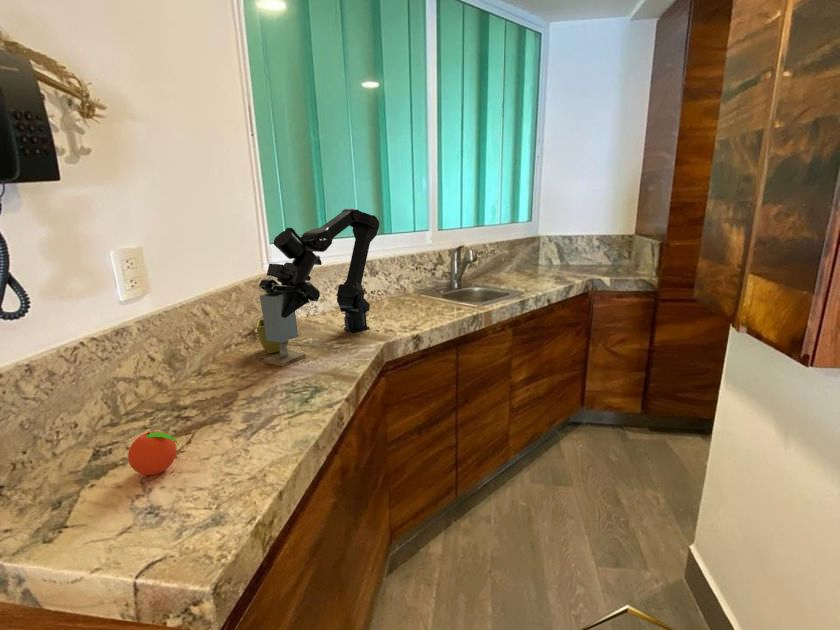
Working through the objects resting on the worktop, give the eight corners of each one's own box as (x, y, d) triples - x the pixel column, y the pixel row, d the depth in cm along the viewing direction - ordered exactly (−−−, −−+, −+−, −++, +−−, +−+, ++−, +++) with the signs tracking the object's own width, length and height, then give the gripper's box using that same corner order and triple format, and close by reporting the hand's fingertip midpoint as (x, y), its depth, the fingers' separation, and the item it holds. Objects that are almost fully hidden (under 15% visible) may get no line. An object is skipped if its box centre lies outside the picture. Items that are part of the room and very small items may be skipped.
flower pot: (260, 356, 128) (255, 326, 126) (262, 347, 136) (258, 319, 134) (291, 352, 130) (288, 323, 128) (292, 344, 139) (288, 316, 136)
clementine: (194, 457, 78) (186, 421, 76) (174, 482, 71) (165, 442, 69) (147, 460, 78) (139, 423, 76) (123, 485, 71) (113, 445, 69)
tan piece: (286, 353, 130) (284, 336, 129) (305, 357, 126) (303, 340, 125) (264, 362, 124) (261, 345, 122) (284, 366, 119) (281, 348, 118)
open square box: (283, 333, 127) (277, 291, 124) (298, 336, 124) (292, 292, 121) (266, 340, 122) (259, 295, 119) (281, 342, 119) (275, 297, 116)
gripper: (259, 250, 125) (231, 297, 119) (307, 252, 116) (279, 303, 109) (284, 273, 134) (260, 318, 128) (331, 276, 124) (307, 325, 118)
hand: (275, 316), depth 120 cm, fingers closed on open square box, 6 cm apart
